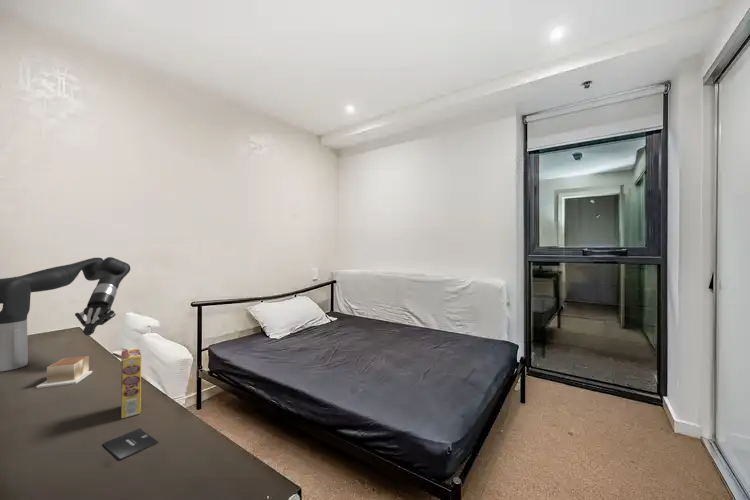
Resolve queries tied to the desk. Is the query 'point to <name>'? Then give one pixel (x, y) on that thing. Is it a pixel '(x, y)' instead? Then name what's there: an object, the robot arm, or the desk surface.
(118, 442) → the solid state drive
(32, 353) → the desk surface
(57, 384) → the mat
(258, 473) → the desk surface
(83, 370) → the maple block
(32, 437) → the desk surface
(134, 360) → the candy box
